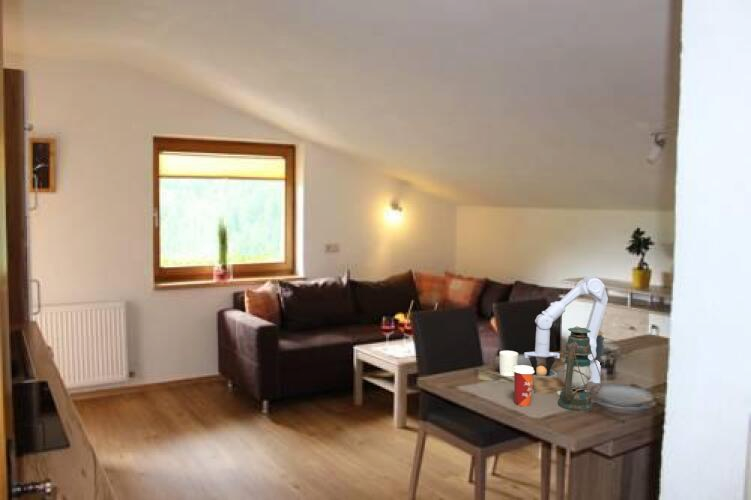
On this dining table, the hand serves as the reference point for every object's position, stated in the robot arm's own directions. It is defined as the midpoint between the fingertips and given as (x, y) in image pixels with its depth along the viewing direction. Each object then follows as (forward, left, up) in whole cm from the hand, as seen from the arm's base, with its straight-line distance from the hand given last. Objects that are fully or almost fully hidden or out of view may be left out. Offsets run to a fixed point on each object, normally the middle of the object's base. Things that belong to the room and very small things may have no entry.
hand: (540, 374), depth 280 cm
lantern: (-4, +34, -2) cm, 34 cm away
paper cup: (+16, +32, -2) cm, 36 cm away
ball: (0, 0, -1) cm, 1 cm away
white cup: (+13, -4, -2) cm, 14 cm away
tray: (+1, +13, -2) cm, 13 cm away
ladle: (-7, +20, -2) cm, 21 cm away
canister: (-30, -27, -2) cm, 40 cm away
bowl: (0, 0, -2) cm, 2 cm away
